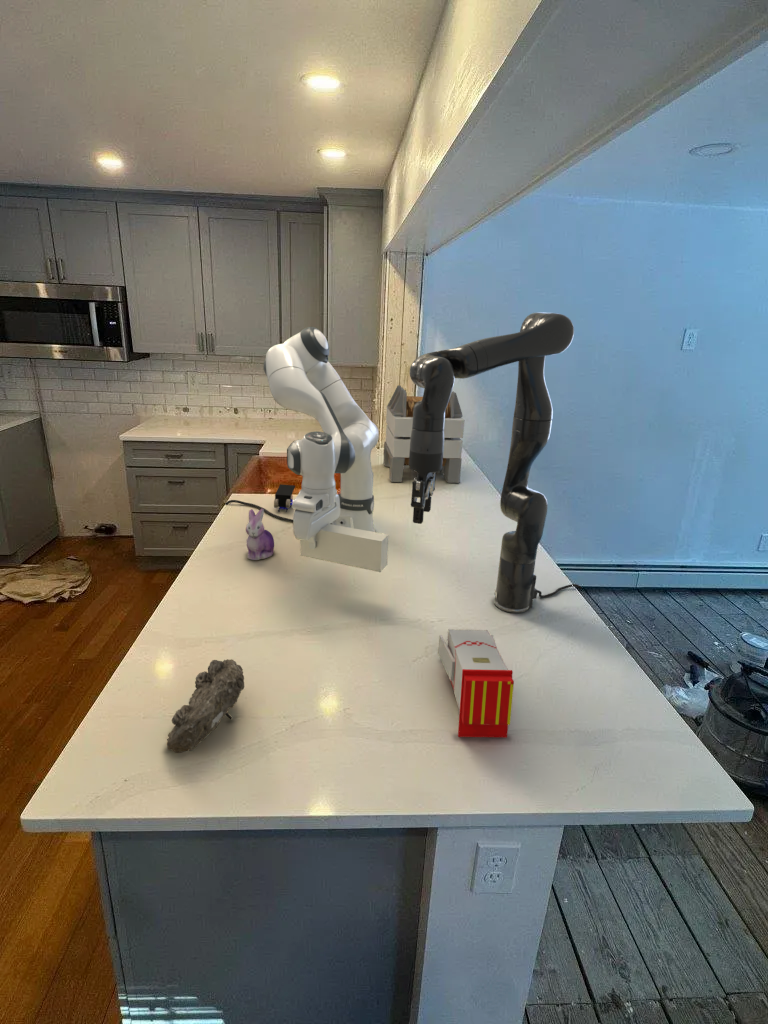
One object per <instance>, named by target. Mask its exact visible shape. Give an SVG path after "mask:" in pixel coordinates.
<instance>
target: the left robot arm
mask: <svg viewBox="0 0 768 1024" xmlns="http://www.w3.org/2000/svg"><path fill="white" fill-rule="evenodd" d="M329 355H330V344H329V341H328V340H327V338H326V336H325V334H324V333H323V332H322V330H320V329H319V328H317V327H316V326H308V327H305V328H303V329H301V330H300V332H297V333H295V334H293V335H292V336H291V337H289V338H288V339H286V340H285V341H284V342H283V343H278V344H274V345H272V346H271V347H270V348H269V349H268V350H267V352H266V353H265V359H264V360H263V371H264V372H263V373H264V374H265V376H266V378H267V383H268V387H269V391H270V394H271V397H272V398H273V400H274V401H275V402H276V404H278V405H279V406H281V407H282V408H284V409H287V410H289V411H293V412H298V413H300V414H301V413H302V414H305V415H308V416H310V417H312V418H314V419H315V420H316V421H317V422H318V423H319V426H320V427H321V431H317V430H316V431H309V432H307V433H305V434H304V435H303V437H302V438H301V439H296V440H293V441H292V442H290V444H289V445H288V446H287V448H286V465H287V468H288V470H290V471H291V472H292V473H294V474H295V475H296V476H302V481H301V489H299V492H298V494H297V495H296V497H294V498H293V502H292V505H291V508H292V509H293V510H294V512H293V516H292V518H288V517H283V516H280V515H277V514H275V513H273V512H271V511H269V510H268V509H266V508H264V507H262V506H260V505H258V504H254V503H250V502H245V501H241V500H237V499H230V500H228V501H226V502H225V503H224V505H229V504H232V503H237V504H240V505H244V506H248V507H253V508H256V509H259V510H260V509H262V508H263V509H264V513H266V514H268V515H269V516H271V517H273V518H276V519H279V520H282V521H286V522H290V523H292V525H293V527H292V528H293V529H292V530H293V537H295V539H297V540H299V541H300V540H305V541H307V540H308V542H309V548H310V549H315V548H316V547H317V541H315V537H316V534H317V533H318V532H320V530H321V529H322V528H324V527H325V526H326V525H328V524H333V525H338V526H344V527H349V528H355V529H360V530H366V531H372V532H376V528H375V523H374V513H373V512H374V509H375V496H374V472H373V467H372V459H371V455H372V450H373V449H374V448H375V447H376V446H377V444H378V443H379V439H380V430H379V427H378V425H376V423H374V422H373V421H372V420H371V419H370V417H369V416H368V415H367V414H366V413H365V412H364V410H363V409H362V408H361V407H360V406H359V404H358V403H357V402H356V400H355V399H354V398H353V396H352V394H351V393H350V391H349V389H348V388H347V386H346V384H345V383H344V381H343V379H342V377H341V376H340V375H339V373H338V372H337V371H336V369H335V368H334V366H333V365H332V364H331V363H330V361H329ZM335 474H340V490H339V491H338V490H337V489H336V485H337V484H336V480H335Z"/></svg>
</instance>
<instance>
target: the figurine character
mask: <svg viewBox="0 0 768 1024" xmlns="http://www.w3.org/2000/svg"><path fill="white" fill-rule="evenodd" d="M295 489H296V485H292V484H279V486H278V487H277V490H276V492H275V494H274V500H273V508H274V509H277V512H278V513H280V512H281V510H285V513H287V512H288V510H289V509H290V508H292V502H293V500H294V495H293V493H294V491H295Z"/></svg>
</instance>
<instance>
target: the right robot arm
mask: <svg viewBox="0 0 768 1024" xmlns="http://www.w3.org/2000/svg"><path fill="white" fill-rule="evenodd" d="M574 335H575V328H574V323H573V321H572V320H571V319H570V318H569V317H568V316H567V315H565V314H562V313H559V312H558V313H557V312H541V311H540V312H539V311H537V312H532V313H530V314H528V315H527V316H526V317H525V318H524V319H523V321H522V323H521V326H520V330H519V331H518V332H514V333H509V334H503V335H496V336H490V337H484V338H481V339H477V340H474V341H471V342H467V343H465V344H463V345H462V344H461V345H460V346H457V347H452V348H449V349H448V348H446V349H442V350H436V351H431V352H427V353H425V354H422V355H420V356H417V358H415V359H414V360H413V361H412V363H411V365H410V367H409V379H410V380H411V382H412V383H413V384H414V385H416V386H417V387H419V388H422V389H424V390H423V394H422V397H423V398H422V400H421V401H418V402H417V403H415V405H414V409H413V422H412V432H411V437H410V453H409V466H408V468H409V469H410V470H411V471H413V472H416V477H414V479H413V481H412V487H411V488H412V489H411V498H410V499H411V500H410V507H411V508H413V511H412V512H413V513H412V523H414V524H419V525H422V524H423V522H424V513H430V512H431V510H432V497H433V495H434V492H435V491H436V489H435V487H436V485H435V484H436V473H438V472H439V473H440V470H441V469H442V463H443V450H444V423H445V410H446V407H447V405H448V402H449V399H450V396H451V392H453V388H454V385H455V380H456V379H468V378H472V377H474V376H477V375H481V374H483V373H486V372H489V371H492V370H495V369H497V368H500V367H503V366H507V365H510V364H514V363H517V362H518V363H517V366H518V367H517V368H518V369H517V383H516V394H515V404H514V411H513V419H512V427H511V437H510V438H511V439H510V446H509V454H508V459H507V466H506V471H505V476H504V479H503V484H502V489H501V493H500V501H499V506H500V511H501V514H503V516H504V517H506V518H508V519H510V520H511V521H514V522H516V523H517V524H516V529H515V530H512V531H508V532H505V533H504V534H503V536H502V539H501V544H500V545H501V546H500V552H499V553H500V554H499V562H498V570H497V578H496V585H495V586H496V587H495V589H494V592H493V594H494V599H493V604H494V605H495V607H497V608H498V609H500V610H501V611H504V612H507V613H511V614H519V613H520V614H521V613H525V612H527V611H528V610H529V609H531V608H533V603H534V600H535V599H536V600H537V597H539V598H540V599H544V598H545V599H546V598H549V597H552V596H554V595H556V594H558V593H559V592H560V591H562V590H565V589H568V588H573V587H574V588H577V589H579V590H582V589H583V587H582V586H581V585H579V584H577V583H571V584H567V585H563V586H561V587H558V588H557V589H556V590H555V591H553V592H550V593H548V594H544V595H543V594H542V591H540V589H539V590H538V589H537V588H536V584H537V583H536V582H537V575H536V574H535V568H536V560H537V553H538V547H539V544H540V542H541V541H542V540H541V539H542V537H543V534H544V529H545V525H546V520H547V516H548V515H547V514H548V506H549V505H548V499H547V498H546V496H545V494H543V493H542V492H540V491H538V490H535V489H533V488H530V487H529V478H530V472H531V468H532V465H533V464H534V462H535V461H536V459H537V458H538V457H539V455H540V454H541V452H542V451H543V450H544V449H545V447H546V445H547V444H548V442H549V440H550V436H551V432H552V424H553V416H554V415H553V414H554V410H553V404H552V400H551V395H550V393H549V390H548V387H547V384H546V379H545V363H546V356H554V355H555V356H556V355H560V354H562V353H563V352H565V351H566V350H567V349H568V348H569V347H570V345H571V344H572V342H573V339H574ZM418 499H420V500H419V501H418ZM572 585H573V586H572Z"/></svg>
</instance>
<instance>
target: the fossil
mask: <svg viewBox="0 0 768 1024" xmlns="http://www.w3.org/2000/svg"><path fill="white" fill-rule="evenodd" d="M243 670H244V669H243V667H242V665H240V664H237V662H236V661H235V660H234V659H232V658H231V659H227V658H226V659H224V660H223V661H222V660H217V659H212V660H211V661H210V663H209V665H208V666H207V671H201V672H199V673H198V674H197V675H196V676H195V680H194V684H195V685H194V687H195V689H194V690H193V693H192V694H191V697H190V698H189V700H188V704H184V705H182V706H181V707H180V709H177V710H176V711H175V713H174V715H173V716H172V718H171V723H172V724H173V727H172V730H171V731H170V732H168V734H167V738H166V741H167V742H166V745H167V749H168V750H169V751H173V752H174V753H176V754H178V753H182V752H188V751H189V752H192V751H193V750H195V748H196V747H197V746H199V744H200V743H201V742H203V741H204V740H205V739H206V738H207V737H208V736H209V735H210V734H211V733H212V732H214V730H215V729H217V727H218V726H219V724H220V722H221V721H222V720H223V719H224V718H225V716H226V717H227V719H229V720H233V717H232V715H230V714H229V710H230V709H231V708H234V706H235V704H236V703H237V702H238V699H239V697H240V695H241V693H242V691H243V690H245V689H244V688H245V675H244V671H243Z"/></svg>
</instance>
